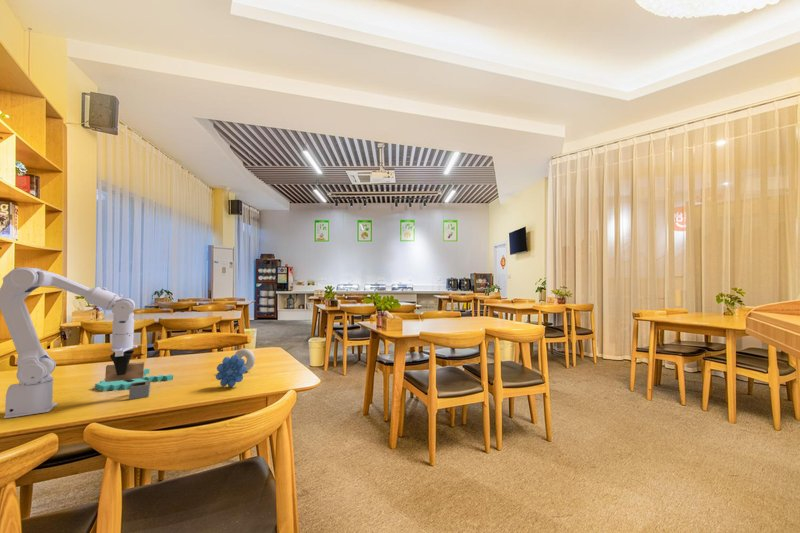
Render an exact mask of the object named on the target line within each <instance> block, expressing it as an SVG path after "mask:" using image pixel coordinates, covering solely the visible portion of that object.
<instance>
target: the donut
mask: <svg viewBox="0 0 800 533" xmlns="http://www.w3.org/2000/svg"><path fill="white" fill-rule="evenodd" d="M234 355H237V356H238V358H239V359H243V357H245V359H246V362H245V363H244V365H243V366H245V367H246V368H247V370H246V372H248V371H250V370H252V368H253V367H254V365H255V362H256V355H255V354H254V352H253V351H252V350H250V349H249V348H246V347H245V348H240V349H238V350H237V351H236V352H235V353H234ZM239 359H238V360H239Z"/></svg>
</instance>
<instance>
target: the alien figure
mask: <svg viewBox="0 0 800 533" xmlns="http://www.w3.org/2000/svg"><path fill="white" fill-rule="evenodd" d="M147 374H148V376H147ZM149 374H150V368H144V377H143V378H139V379H129V380H120V381H111V382H105V378H104V379H103V380H99V382H97V383H95V384H94V388H95V389H96V390H99V391H102V392H107V391H111V390H112V391H114V392H115V391H119V390H123V391H124V390H125V391H127V390H130V387H131V386H132V383H135V382H143V381H150V383H151V382H163V381H166V382H169V381H172V380H174V374H172V373H171V374H164V375H163V374H159V375H149Z"/></svg>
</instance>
